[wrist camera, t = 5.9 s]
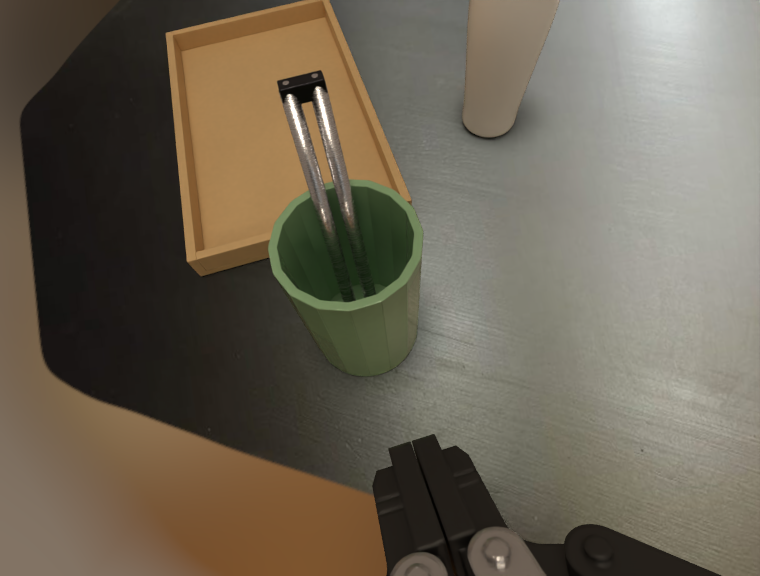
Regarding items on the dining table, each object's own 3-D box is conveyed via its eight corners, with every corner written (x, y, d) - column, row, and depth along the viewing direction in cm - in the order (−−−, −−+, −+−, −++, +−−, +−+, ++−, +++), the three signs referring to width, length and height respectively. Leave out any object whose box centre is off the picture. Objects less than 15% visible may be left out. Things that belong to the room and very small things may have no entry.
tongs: (362, 364, 32) (311, 217, 16) (336, 271, 36) (274, 78, 20) (391, 356, 32) (370, 202, 16) (362, 264, 36) (321, 67, 20)
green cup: (329, 389, 32) (283, 330, 20) (307, 297, 35) (258, 200, 24) (431, 358, 32) (445, 283, 21) (399, 270, 36) (395, 164, 24)
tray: (200, 276, 37) (186, 262, 34) (176, 53, 51) (165, 32, 49) (411, 218, 38) (411, 200, 36) (330, 17, 52) (327, -6, 50)
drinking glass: (534, 129, 42) (594, -41, 29) (477, 155, 41) (511, -9, 27) (496, 90, 45) (534, -82, 31) (442, 113, 44) (457, -55, 30)
